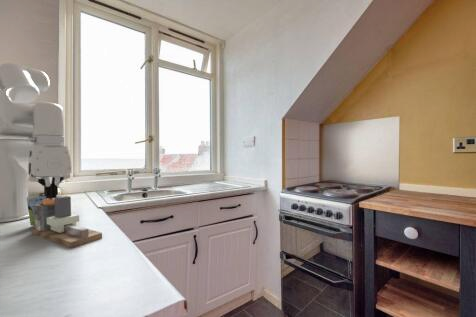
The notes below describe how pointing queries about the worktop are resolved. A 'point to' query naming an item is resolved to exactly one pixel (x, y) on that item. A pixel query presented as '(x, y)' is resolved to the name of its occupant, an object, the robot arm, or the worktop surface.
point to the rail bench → (67, 238)
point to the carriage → (62, 214)
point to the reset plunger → (48, 202)
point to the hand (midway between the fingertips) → (51, 198)
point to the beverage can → (33, 200)
